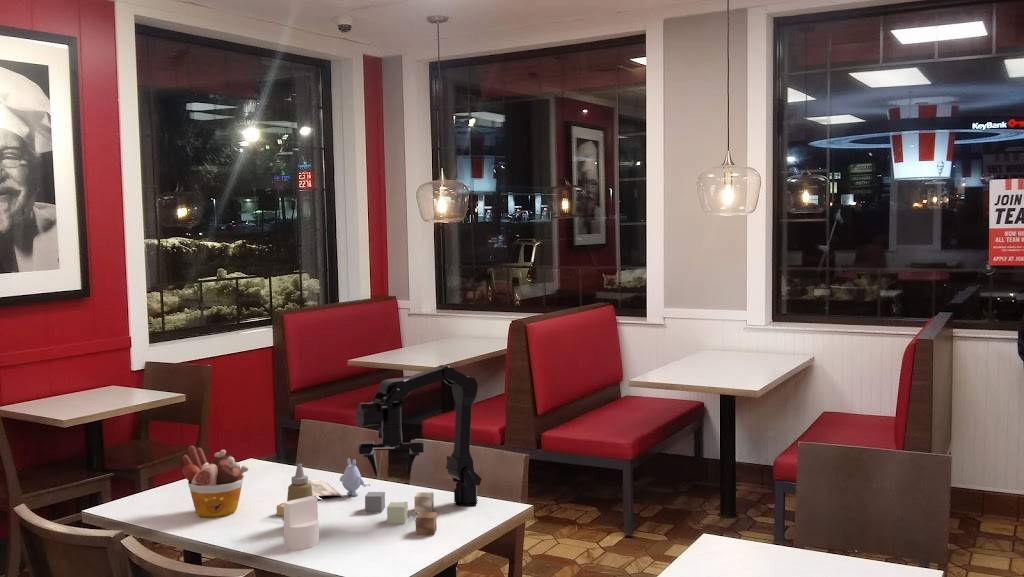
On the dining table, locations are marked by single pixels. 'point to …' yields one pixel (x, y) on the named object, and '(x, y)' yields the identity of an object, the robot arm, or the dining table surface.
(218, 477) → the bucket of meat
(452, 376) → the robot arm
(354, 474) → the toy figure
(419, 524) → the walnut block
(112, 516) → the dining table surface
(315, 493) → the newspaper
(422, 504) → the cream block
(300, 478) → the squeeze bottle
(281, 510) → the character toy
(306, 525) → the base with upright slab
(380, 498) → the slate block
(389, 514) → the sage block
